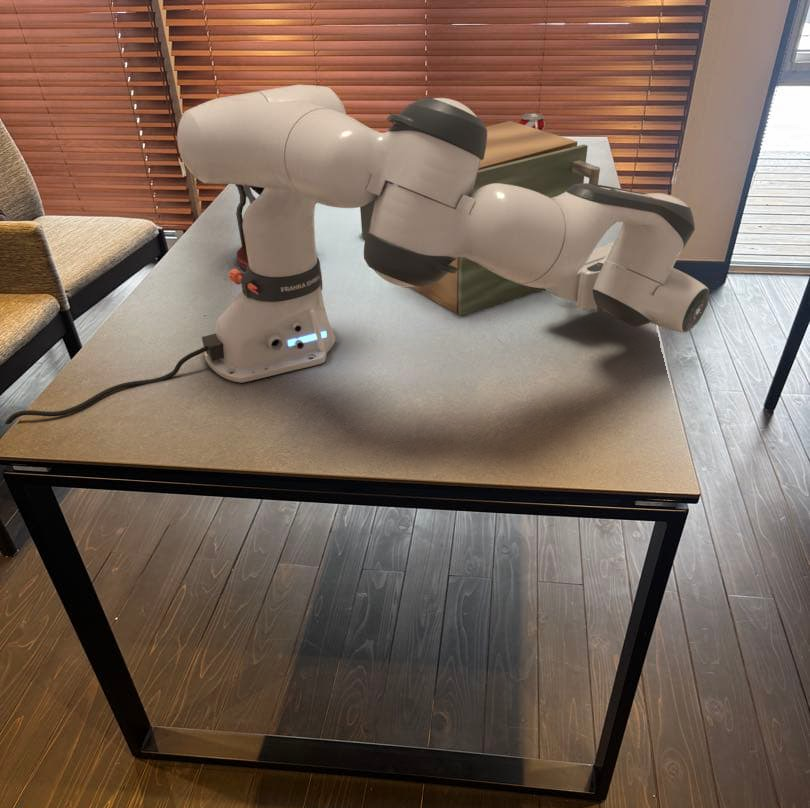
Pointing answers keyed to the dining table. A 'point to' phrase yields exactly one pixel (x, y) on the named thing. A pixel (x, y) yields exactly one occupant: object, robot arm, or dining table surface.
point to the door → (532, 173)
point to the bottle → (366, 216)
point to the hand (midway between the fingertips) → (564, 252)
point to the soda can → (533, 121)
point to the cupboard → (501, 148)
